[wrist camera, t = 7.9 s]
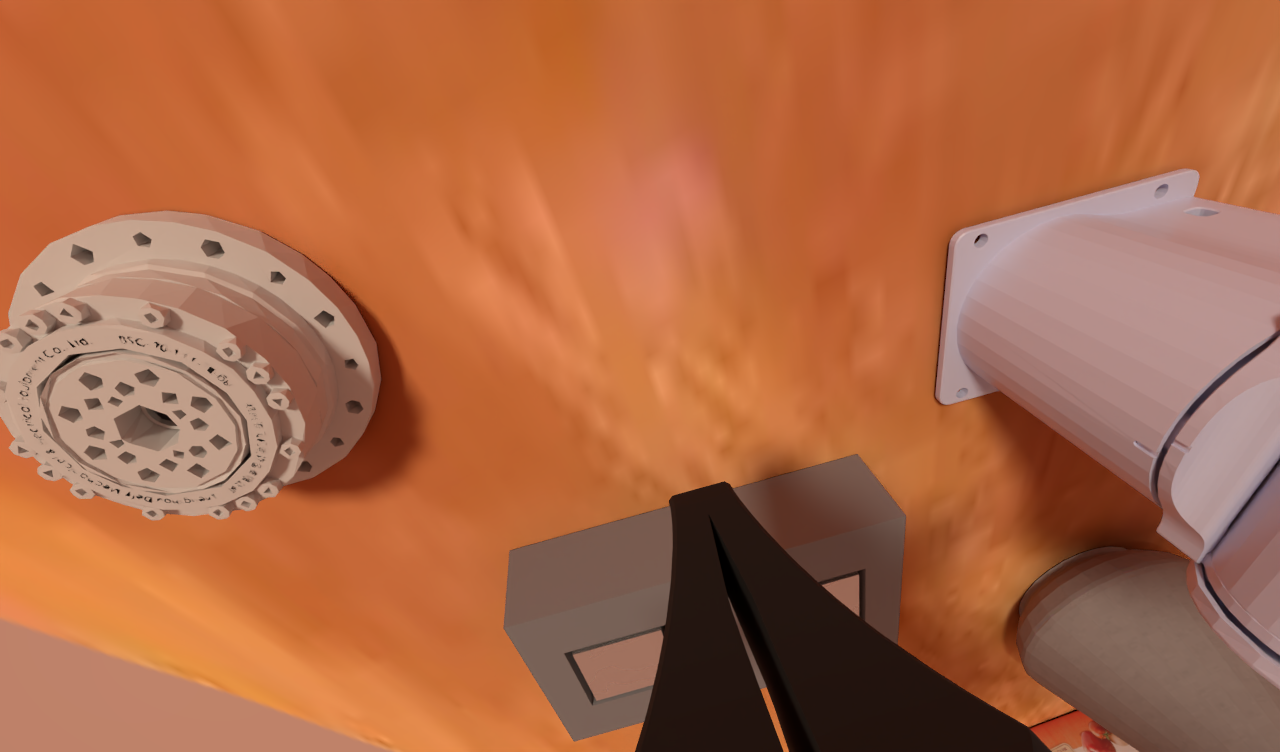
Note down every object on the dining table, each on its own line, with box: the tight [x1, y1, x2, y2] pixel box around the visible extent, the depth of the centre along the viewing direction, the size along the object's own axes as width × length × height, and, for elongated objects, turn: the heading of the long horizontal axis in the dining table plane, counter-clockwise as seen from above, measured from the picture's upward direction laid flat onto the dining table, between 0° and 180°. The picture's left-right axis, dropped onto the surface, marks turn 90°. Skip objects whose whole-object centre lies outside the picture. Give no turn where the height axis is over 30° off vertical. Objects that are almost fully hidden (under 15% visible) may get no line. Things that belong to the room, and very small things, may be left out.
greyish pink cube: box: [572, 625, 665, 701], centre depth 26 cm, size 4×4×4 cm
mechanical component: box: [0, 211, 381, 520], centre depth 17 cm, size 10×4×10 cm
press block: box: [504, 454, 906, 741], centre depth 26 cm, size 17×10×4 cm, turn 103°
